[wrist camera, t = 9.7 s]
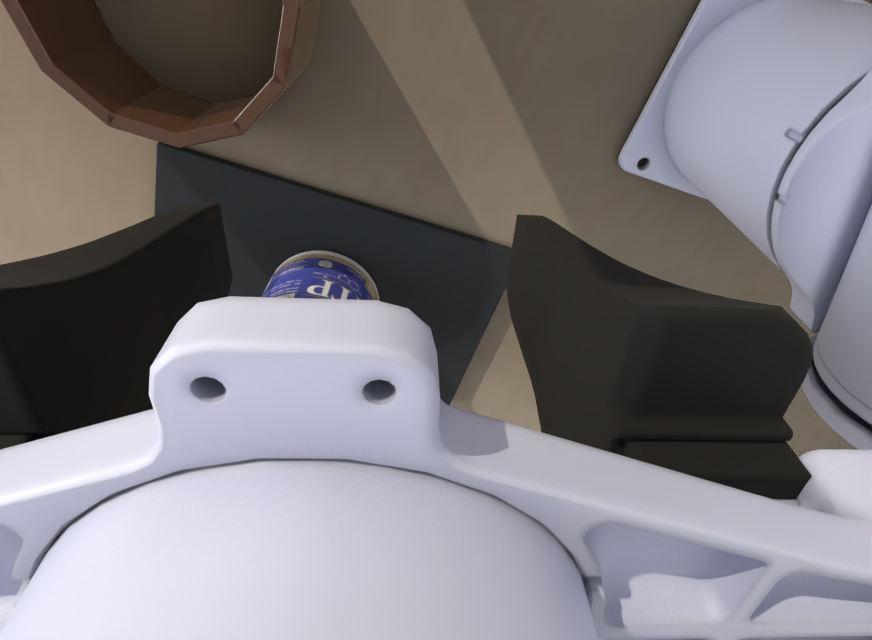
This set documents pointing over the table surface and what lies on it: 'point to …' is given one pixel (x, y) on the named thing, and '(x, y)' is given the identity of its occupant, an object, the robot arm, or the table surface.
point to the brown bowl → (134, 88)
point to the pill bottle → (321, 278)
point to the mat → (346, 247)
